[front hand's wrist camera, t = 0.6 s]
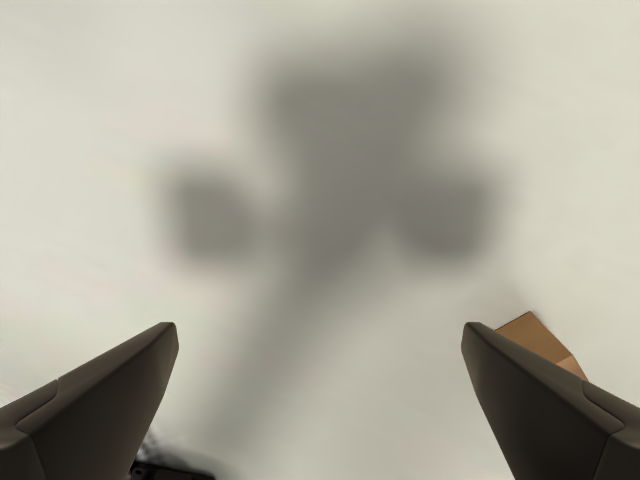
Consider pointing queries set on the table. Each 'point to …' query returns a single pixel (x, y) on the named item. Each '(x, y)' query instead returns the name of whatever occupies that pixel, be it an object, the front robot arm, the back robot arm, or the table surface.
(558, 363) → the block
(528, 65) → the table surface
